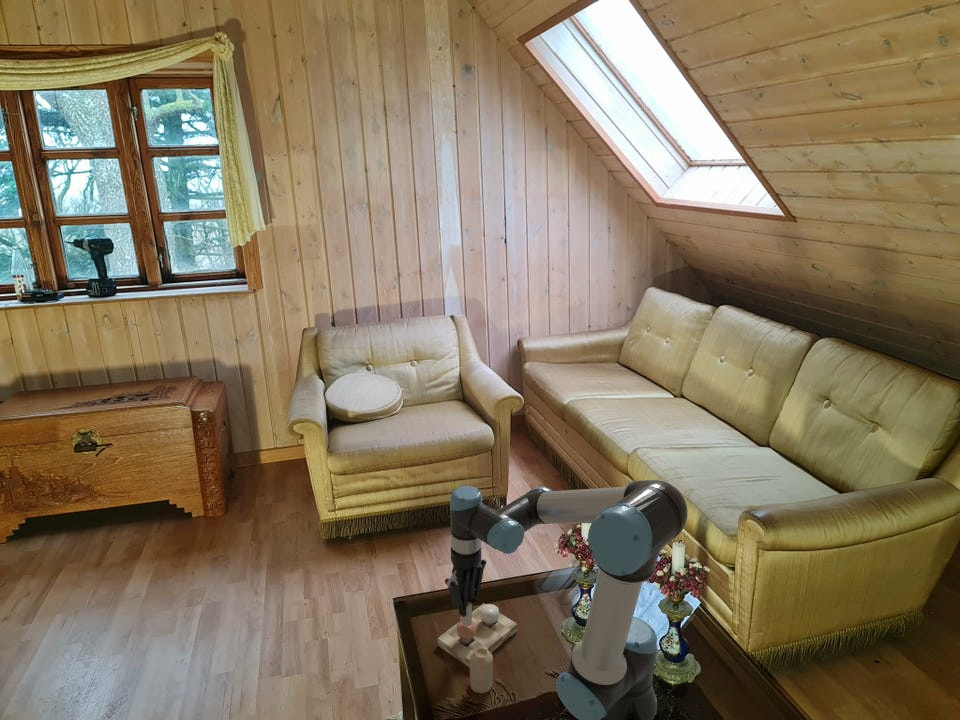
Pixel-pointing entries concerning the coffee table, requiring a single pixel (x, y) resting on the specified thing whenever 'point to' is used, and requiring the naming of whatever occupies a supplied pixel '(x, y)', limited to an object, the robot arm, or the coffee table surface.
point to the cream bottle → (481, 670)
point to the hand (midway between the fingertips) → (466, 623)
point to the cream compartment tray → (477, 637)
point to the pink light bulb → (466, 632)
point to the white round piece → (489, 614)
